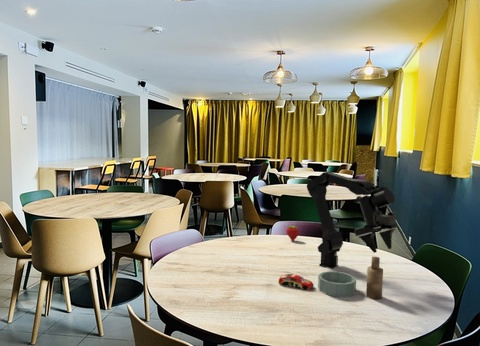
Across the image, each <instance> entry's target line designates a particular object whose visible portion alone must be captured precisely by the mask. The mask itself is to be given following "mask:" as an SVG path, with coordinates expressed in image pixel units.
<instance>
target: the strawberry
mask: <svg viewBox="0 0 480 346" xmlns="http://www.w3.org/2000/svg"><path fill="white" fill-rule="evenodd" d="M286 234H287V236H288V237H289V239H290V240H291V241H292V242H294V241H295V240H296V239H297V238H298V236H299V234H300V230H299V228H298V226H295V225H289V226H287V228H286Z"/></svg>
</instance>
